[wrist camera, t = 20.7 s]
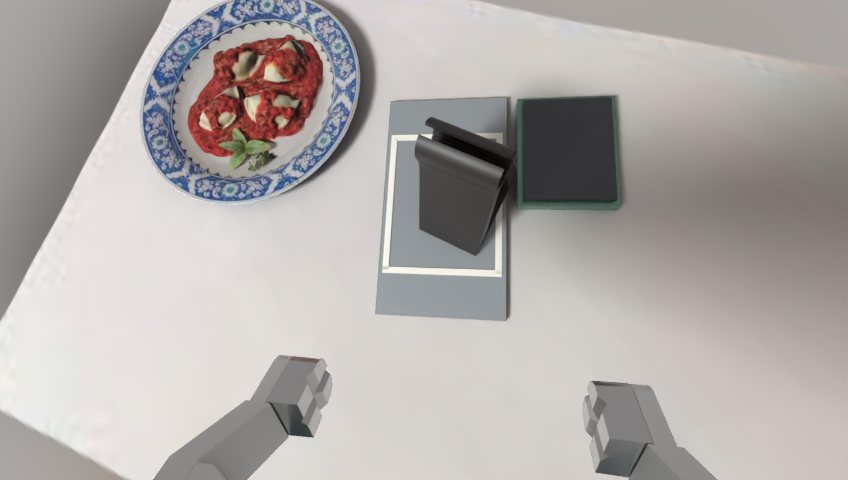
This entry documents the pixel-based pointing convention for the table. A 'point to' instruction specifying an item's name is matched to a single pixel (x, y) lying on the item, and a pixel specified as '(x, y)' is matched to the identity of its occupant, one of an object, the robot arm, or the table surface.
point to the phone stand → (461, 183)
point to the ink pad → (567, 154)
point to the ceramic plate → (249, 99)
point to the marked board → (423, 253)
